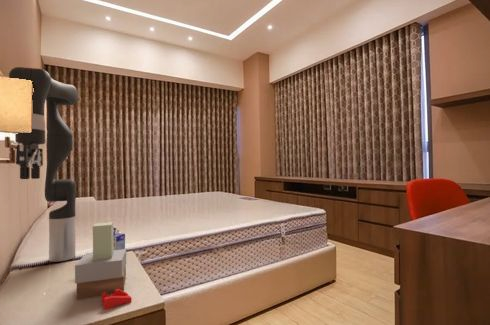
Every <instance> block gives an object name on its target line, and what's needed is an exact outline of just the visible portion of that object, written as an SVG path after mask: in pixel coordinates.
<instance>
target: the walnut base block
mask: <svg viewBox="0 0 490 325" xmlns="http://www.w3.org/2000/svg"><path fill="white" fill-rule="evenodd" d="M126 280H127V266H126V267H125V269H124V272H123V275H122V277H120V278H112V279H105V280H97V281H90V282H82V283H76V301H80V300H85V299H92V298H99V297H102V293H104V292H106V294H107V295H112V294H113V293H114V291H115V289H120V290H122V291H124V292H125V287H126V286H125V285H126ZM124 286H125V287H124Z"/></svg>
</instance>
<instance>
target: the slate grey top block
mask: <svg viewBox="0 0 490 325" xmlns="http://www.w3.org/2000/svg"><path fill="white" fill-rule="evenodd" d="M125 267H126V268H127V248H125V249H122V250H114V253H113V256H112V258H106V259H98V260H93V251H92V252H86V253H85V254H84V255H83V256H82V257H81V258H80V259H79V260H78V262H77V263H75V266H74V284H77V283H82V282H90V281H97V280H105V279H112V278H120V277H122V275H123V272H124V269H125Z"/></svg>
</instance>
